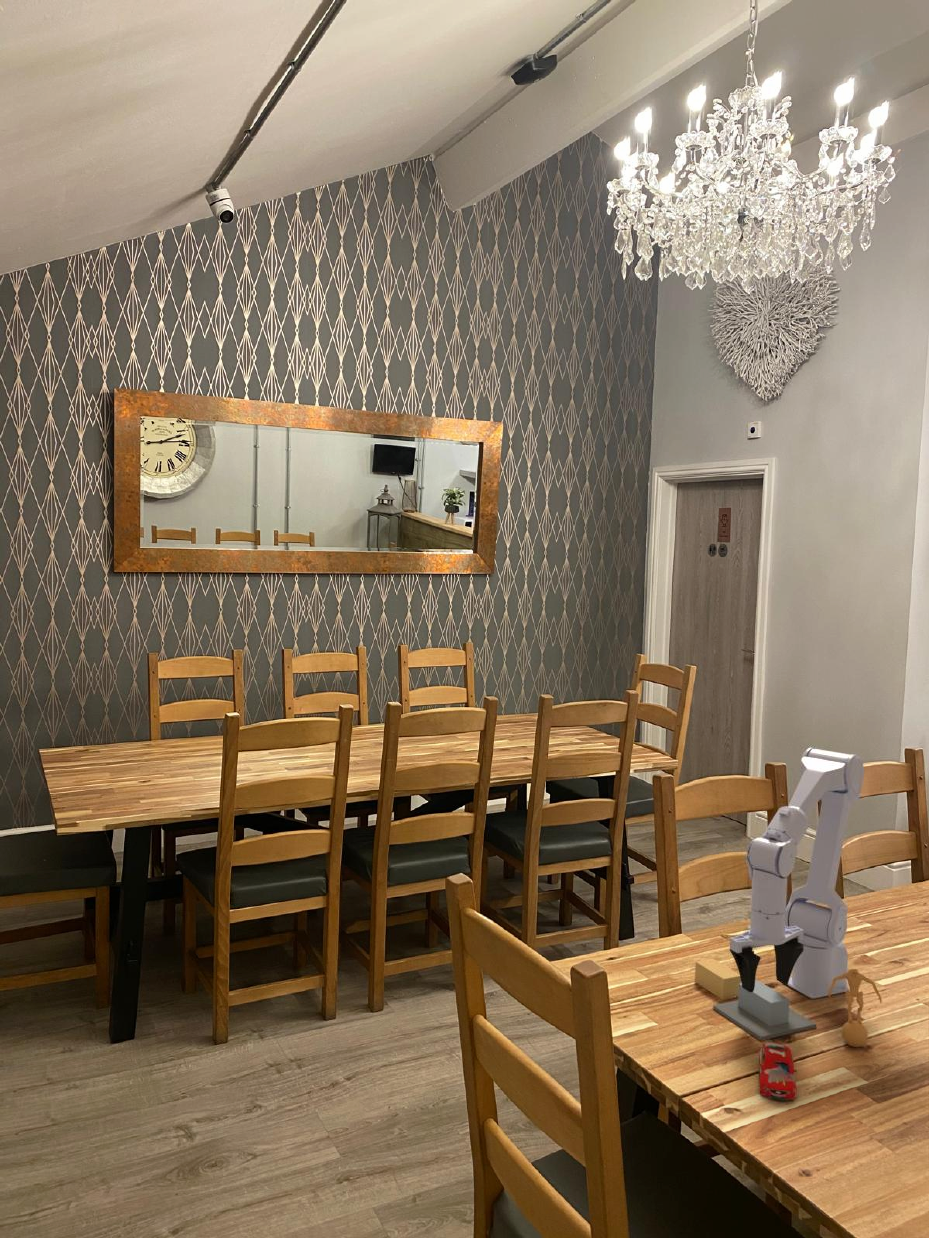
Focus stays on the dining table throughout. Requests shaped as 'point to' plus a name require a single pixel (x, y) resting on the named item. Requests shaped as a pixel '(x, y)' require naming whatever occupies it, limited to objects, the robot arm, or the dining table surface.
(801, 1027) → the mat
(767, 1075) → the race car
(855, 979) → the figurine
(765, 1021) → the slate brick
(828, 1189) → the dining table surface
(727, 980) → the ochre brick
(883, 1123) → the dining table surface
